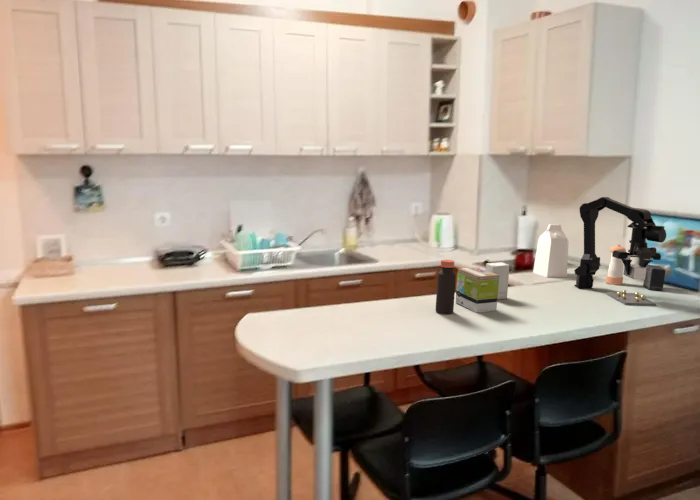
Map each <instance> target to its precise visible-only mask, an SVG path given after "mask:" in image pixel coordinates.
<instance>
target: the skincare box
mask: <svg viewBox="0 0 700 500" xmlns="http://www.w3.org/2000/svg"><path fill="white" fill-rule="evenodd" d="M485 270H486V271H489V272H492V273H495V274H497V275H499V285H498V298H497V300H502V299H503V300H505V299H508V290H509V278H510V276H509V273H510V264H508V263H505V262H502V261H501V262H491V263H489V262H488V263H485Z"/></svg>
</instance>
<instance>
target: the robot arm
mask: <svg viewBox="0 0 700 500" xmlns="http://www.w3.org/2000/svg"><path fill="white" fill-rule="evenodd" d="M605 208H606V209H609V210H611V211H613V212H616V213H618V214H621V215H622V216H625V217H626V218H627V219H628V220H629V221H631V223H630V224H628V225H627V228H630V229H631V238H630V240H628V241H629V243H630V246H629V249H627V251H626V252H625V251H619V250H614V252H613V254H612V253H611V254H612V256H613V257H615V258H618V259H622V262H623V267H624V266H625V269H626V272H627V274H628V275H629V273H630V264H632V261H633V259H631V258H639V265H640V266H642V267H645V268H646V266H647V265H649V264H650V263H651V262H653V261H654V260H655V261H661V259H662V254H661V253H660V252H657V248H656V246H655V247H653V246H651V247H648V242H655V243H665V240H666V238H667V231H666V229H665V226H664V225H656V223H655V221H654V220H653V218H652V214H651V212H650V210H648V209H644V208H639V207H638V208H637V207H634V206H633V207H632V206H629V205H627V204H625V203H622V202H619V201H617V200H615V199H612V198H610V197H609V196H601V197H599V198H598V199H595V200H593V201H590V202H588V203H587V202H585V203H582V204H581V205H580V206H579V216H580V219H581V220H582V222H583V254H582V257H581V258H580V261H579V262H580V263H579V266H577V267H576V268H575V269H574V274H575V275H576V280H575V281H576V282H575V284H574V285H573V286H574V287H575V288H578V289H579V290H585V289H586V290H594V286H593V285H594V277H593V276H595V275H596V273H597V272H598V270H600V267H601V266H602V265H601V257H599V256H597V254H596V221H597V220H598V218H599V213H600V212H601V211H602V210H604V209H605ZM647 241H648V242H647Z"/></svg>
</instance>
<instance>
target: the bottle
mask: <svg viewBox="0 0 700 500" xmlns="http://www.w3.org/2000/svg"><path fill="white" fill-rule="evenodd" d="M454 267H455V261H454V260H451V259H441V260H440V268H441V270H440V271H439V272H438V273H437V283H436V296H435V297H436V298H435V312H436V313H437V314H441V315H450V314H451V315H452V314H453V313H454V309H455V308H454V307H455V306H454V305H455V296H456V282H457V274H456V272H455V271H454Z"/></svg>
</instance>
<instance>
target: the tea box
mask: <svg viewBox="0 0 700 500" xmlns="http://www.w3.org/2000/svg"><path fill="white" fill-rule="evenodd" d="M456 273H457V274H456V286H455V303H456V304H458V305H461V306H462V307H465V308H466V309H469V310H470V311H472V312H474V313H487V312H489V313H490V312H495V311H497V307H498V299H497V298H498V285H499V275H497V274H495V273H492V272H489V271H486V269H484V268H481V267H477V266H475V267H462V268H457V272H456Z"/></svg>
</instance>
